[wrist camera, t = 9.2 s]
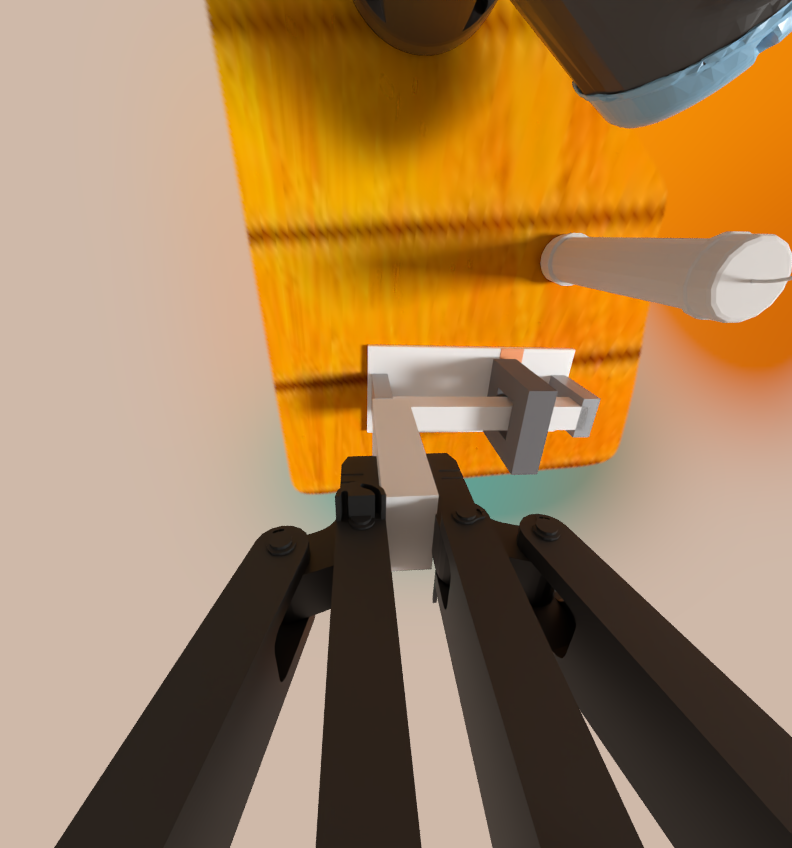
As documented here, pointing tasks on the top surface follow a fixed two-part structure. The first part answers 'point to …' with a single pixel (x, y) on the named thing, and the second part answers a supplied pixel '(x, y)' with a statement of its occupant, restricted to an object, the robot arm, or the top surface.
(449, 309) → the top surface
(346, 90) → the top surface
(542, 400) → the collar
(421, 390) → the rail
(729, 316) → the pipe
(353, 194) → the top surface
